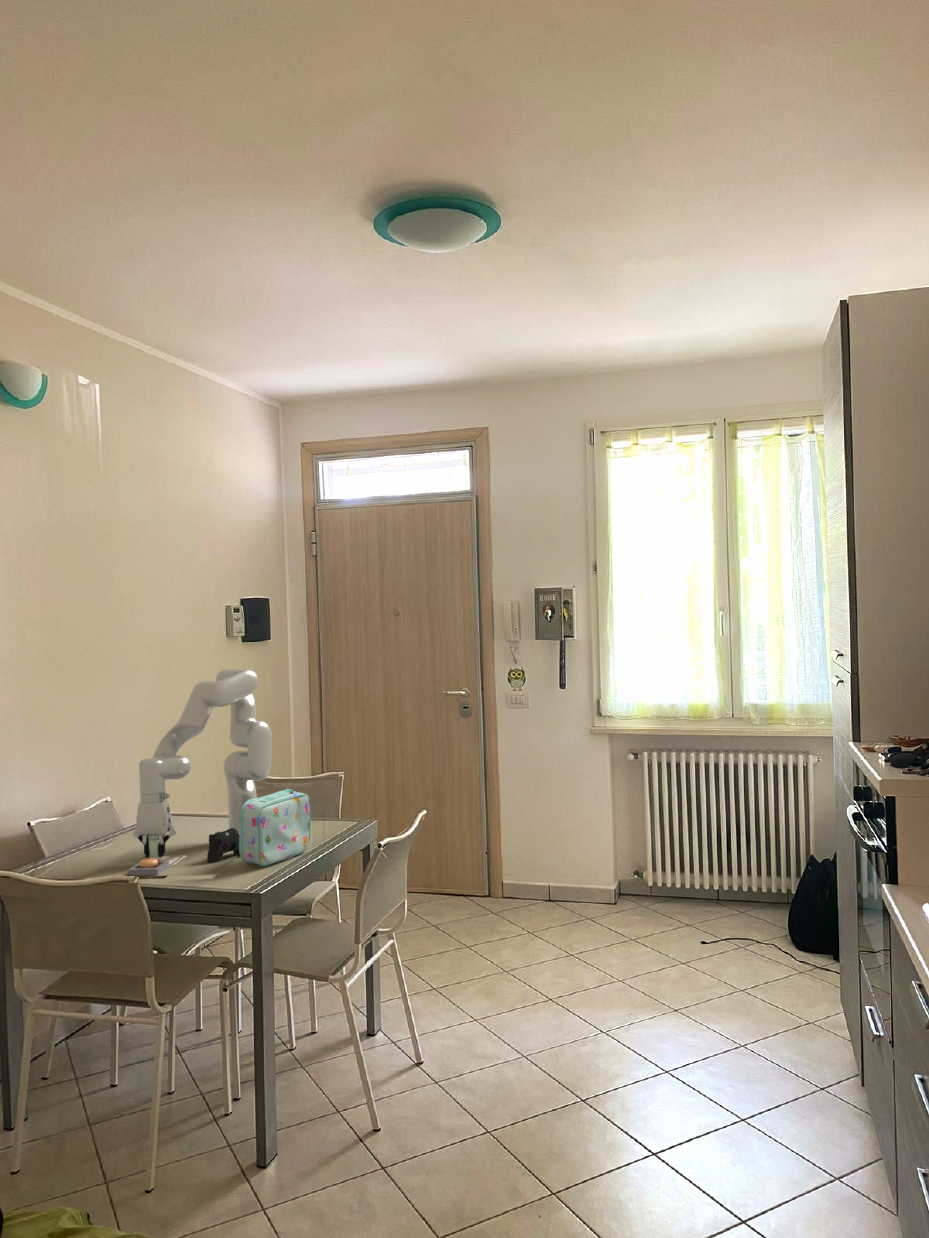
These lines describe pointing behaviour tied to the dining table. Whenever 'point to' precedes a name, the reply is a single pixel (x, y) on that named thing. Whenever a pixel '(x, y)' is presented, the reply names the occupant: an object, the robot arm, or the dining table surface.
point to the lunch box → (274, 827)
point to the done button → (149, 863)
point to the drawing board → (172, 861)
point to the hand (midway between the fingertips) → (154, 855)
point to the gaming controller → (223, 844)
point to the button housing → (149, 869)
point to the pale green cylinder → (153, 846)
